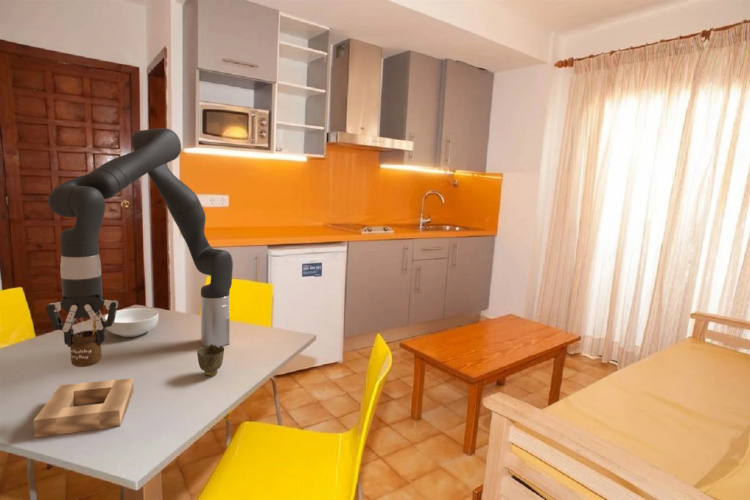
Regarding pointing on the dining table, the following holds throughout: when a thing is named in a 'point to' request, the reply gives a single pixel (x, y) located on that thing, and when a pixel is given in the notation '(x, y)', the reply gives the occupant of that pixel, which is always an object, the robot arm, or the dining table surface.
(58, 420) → the oak socket block
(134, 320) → the cereal bowl
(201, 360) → the cup
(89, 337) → the utensil holder
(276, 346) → the dining table surface
